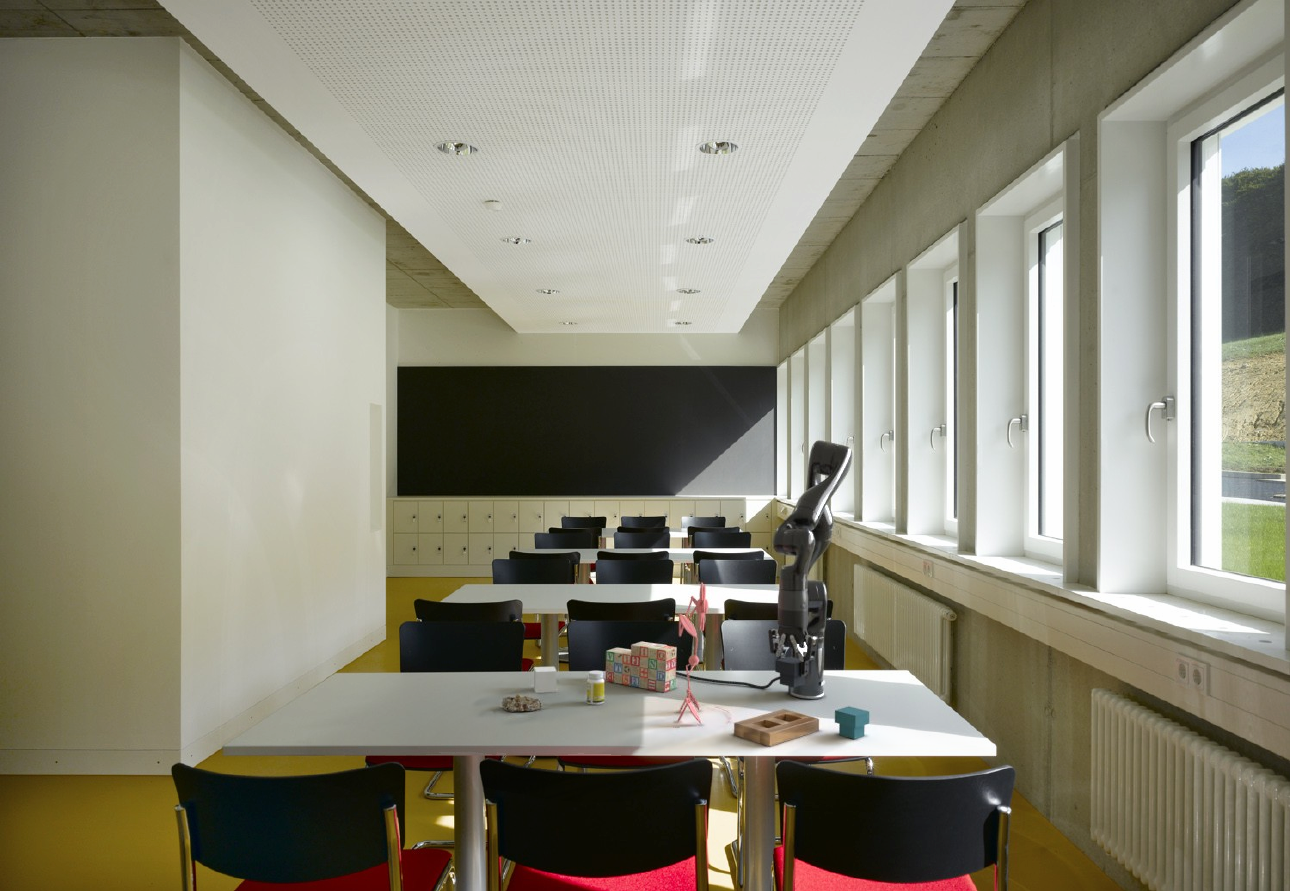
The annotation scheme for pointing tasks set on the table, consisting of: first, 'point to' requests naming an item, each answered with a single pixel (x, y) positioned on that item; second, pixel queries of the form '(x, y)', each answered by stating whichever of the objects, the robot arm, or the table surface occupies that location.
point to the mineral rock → (521, 703)
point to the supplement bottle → (595, 688)
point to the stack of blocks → (643, 666)
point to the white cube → (545, 679)
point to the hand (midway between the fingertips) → (792, 673)
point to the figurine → (693, 660)
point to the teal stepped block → (851, 721)
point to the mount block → (776, 727)
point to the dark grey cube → (789, 671)
